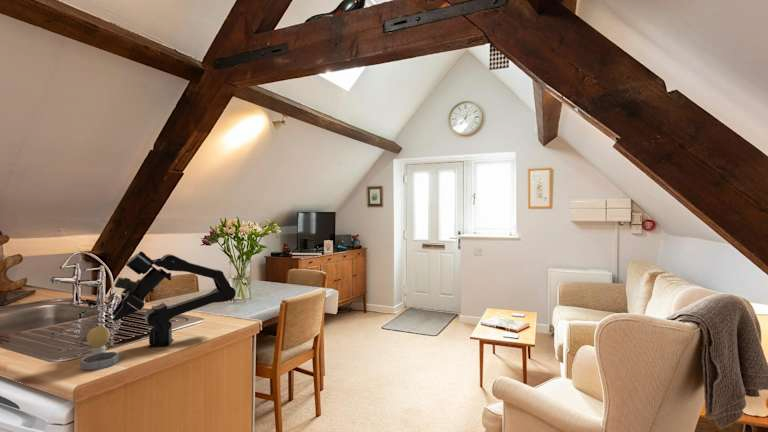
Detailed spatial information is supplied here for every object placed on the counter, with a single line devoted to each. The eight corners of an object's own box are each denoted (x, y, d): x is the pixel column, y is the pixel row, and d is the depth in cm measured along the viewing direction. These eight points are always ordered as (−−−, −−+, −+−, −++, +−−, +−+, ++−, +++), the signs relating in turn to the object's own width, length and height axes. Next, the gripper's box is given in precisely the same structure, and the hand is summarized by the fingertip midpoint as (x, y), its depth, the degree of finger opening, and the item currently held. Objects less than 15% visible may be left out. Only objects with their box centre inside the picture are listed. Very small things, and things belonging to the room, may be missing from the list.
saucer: (123, 357, 129) (123, 350, 129) (109, 368, 120) (109, 361, 120) (91, 360, 127) (91, 353, 127) (74, 371, 118) (74, 364, 118)
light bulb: (114, 352, 134) (113, 324, 134) (101, 359, 128) (101, 329, 128) (96, 353, 134) (95, 324, 134) (82, 359, 128) (81, 330, 128)
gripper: (128, 266, 144) (92, 299, 137) (131, 271, 129) (91, 309, 122) (153, 284, 149) (119, 317, 142) (159, 291, 134) (121, 328, 127)
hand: (113, 317), depth 133 cm, fingers open, 9 cm apart
